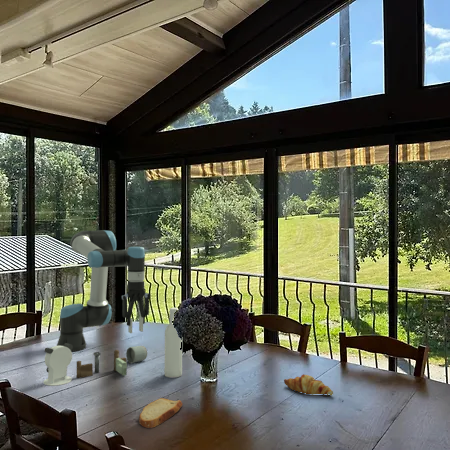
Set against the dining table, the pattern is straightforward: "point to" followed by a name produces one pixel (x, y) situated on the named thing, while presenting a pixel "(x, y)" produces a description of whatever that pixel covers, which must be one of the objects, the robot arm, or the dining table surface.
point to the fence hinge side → (116, 355)
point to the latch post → (96, 361)
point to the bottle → (172, 350)
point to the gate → (121, 366)
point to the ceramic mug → (136, 354)
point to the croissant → (308, 385)
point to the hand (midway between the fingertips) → (135, 331)
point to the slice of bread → (158, 412)
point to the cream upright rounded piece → (58, 364)
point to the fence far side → (84, 370)
